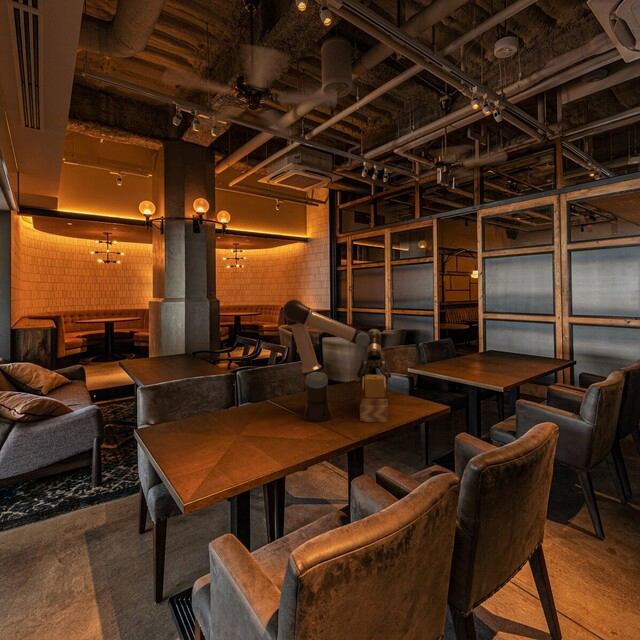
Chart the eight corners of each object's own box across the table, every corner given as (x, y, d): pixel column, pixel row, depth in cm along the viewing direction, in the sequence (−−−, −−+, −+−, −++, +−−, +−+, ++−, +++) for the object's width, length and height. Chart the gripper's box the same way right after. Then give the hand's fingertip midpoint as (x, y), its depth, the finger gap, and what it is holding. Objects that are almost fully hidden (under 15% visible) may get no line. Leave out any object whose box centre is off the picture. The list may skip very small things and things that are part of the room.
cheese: (384, 392, 201) (383, 374, 200) (385, 398, 190) (384, 378, 189) (364, 392, 202) (364, 374, 201) (364, 398, 191) (363, 378, 191)
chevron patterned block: (360, 421, 192) (359, 406, 191) (362, 412, 206) (361, 398, 205) (387, 422, 189) (387, 406, 189) (388, 413, 203) (387, 399, 203)
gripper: (395, 357, 208) (396, 392, 194) (354, 357, 213) (352, 392, 199) (395, 349, 203) (396, 384, 189) (353, 350, 207) (351, 384, 193)
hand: (374, 388), depth 194 cm, fingers closed on cheese, 10 cm apart
